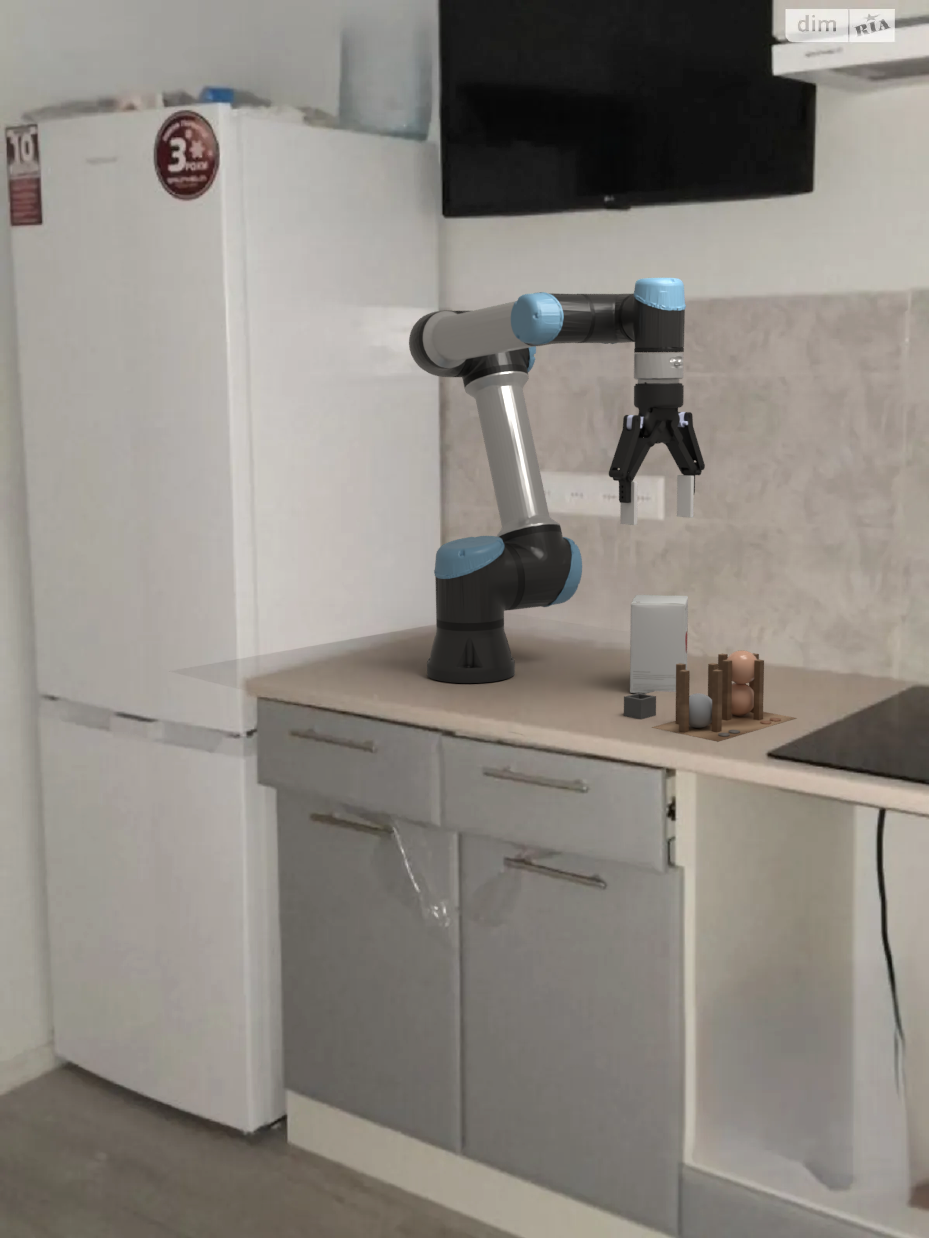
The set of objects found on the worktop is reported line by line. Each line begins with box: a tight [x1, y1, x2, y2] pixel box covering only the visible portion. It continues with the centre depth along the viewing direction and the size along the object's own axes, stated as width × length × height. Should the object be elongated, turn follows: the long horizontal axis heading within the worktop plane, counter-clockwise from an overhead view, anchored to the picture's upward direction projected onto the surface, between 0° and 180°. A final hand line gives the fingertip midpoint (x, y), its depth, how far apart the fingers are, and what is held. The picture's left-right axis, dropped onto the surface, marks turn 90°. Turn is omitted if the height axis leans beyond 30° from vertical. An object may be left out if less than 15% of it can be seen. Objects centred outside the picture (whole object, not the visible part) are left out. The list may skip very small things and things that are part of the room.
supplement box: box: [629, 594, 689, 695], centre depth 248 cm, size 9×9×15 cm
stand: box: [623, 693, 657, 720], centre depth 228 cm, size 3×3×4 cm
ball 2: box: [731, 682, 754, 716], centre depth 227 cm, size 5×5×5 cm
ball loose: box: [727, 650, 757, 684], centre depth 226 cm, size 5×5×5 cm
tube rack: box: [651, 652, 798, 743], centre depth 223 cm, size 12×19×10 cm, turn 133°
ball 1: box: [689, 692, 712, 728], centre depth 220 cm, size 5×5×5 cm
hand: (657, 520), depth 235 cm, fingers open, 13 cm apart
